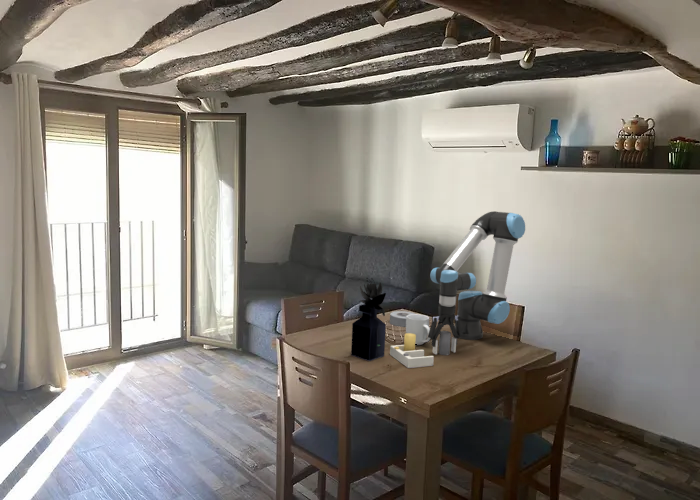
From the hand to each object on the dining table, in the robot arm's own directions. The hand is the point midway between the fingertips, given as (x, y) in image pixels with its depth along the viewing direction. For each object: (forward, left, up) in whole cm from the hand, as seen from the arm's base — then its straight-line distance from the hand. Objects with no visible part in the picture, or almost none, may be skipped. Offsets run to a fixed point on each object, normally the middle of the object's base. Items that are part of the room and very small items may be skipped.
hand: (444, 352), depth 250 cm
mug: (+5, -16, -1) cm, 17 cm away
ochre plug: (+18, 0, -1) cm, 18 cm away
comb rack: (+20, +4, 0) cm, 20 cm away
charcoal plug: (0, 0, -1) cm, 1 cm away
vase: (+35, -6, -1) cm, 36 cm away
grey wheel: (-5, -51, -1) cm, 51 cm away
